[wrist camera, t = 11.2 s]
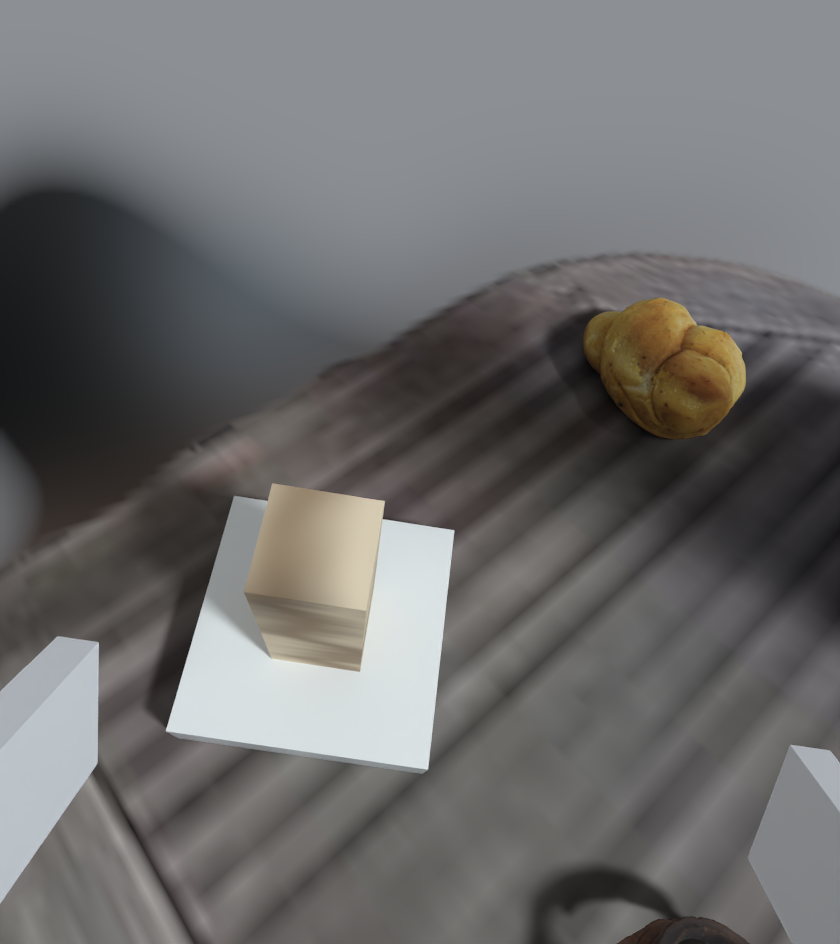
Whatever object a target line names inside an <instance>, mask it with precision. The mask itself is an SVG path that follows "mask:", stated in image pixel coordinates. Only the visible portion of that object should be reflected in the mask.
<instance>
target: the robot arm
mask: <svg viewBox="0 0 840 944" xmlns="http://www.w3.org/2000/svg"><path fill="white" fill-rule="evenodd" d="M98 662H99V642H94V641H87V640H80V639H73V638H67V637H60V636H57V637H56V638H55V639H54V640H53V641H52V642H51V643H50V644H49V645H48V646H47V647H46V648H45V649H44V650H43V651H42V652H41V653H40V654H39V655H38V656H36V657H35V658H34V659H33V660H32V661H31V662H30V663H29V664H28V665H27V666H26V667H25V668H24V669H23V670H22V671H21V672H20V673H19V674H18V675H17V676H16V677H15V678H14V679H12V680H11V681H10V682H9V683H8V684H7V685H6V686H5V687H4V688H3V689H2V690H1V691H0V903H1V902H2V900H3V899H4V897H5V896H6V894H7V893H8V892H9V890H10V889H11V887H12V886H13V884H14V883H15V881H16V880H17V879H18V877H19V876H20V874H21V873H22V871H23V870H24V868H25V867H26V866H27V864H28V863H29V861H30V860H31V858H32V857H33V856H34V854H35V853H36V851H37V850H38V848H39V847H40V845H41V844H42V843H43V841H44V840H45V838H46V837H47V835H48V834H49V832H50V831H51V830H52V828H53V827H54V825H55V824H56V822H57V821H58V820H59V818H60V817H61V815H62V814H63V812H64V811H65V809H66V808H67V807H68V805H69V804H70V802H71V801H72V799H73V798H74V796H75V795H76V794H77V792H78V791H79V789H80V788H81V786H82V785H83V784H84V782H85V781H86V779H87V778H88V776H89V775H90V773H91V772H92V771H93V769H94V768H95V766H96V765H97V752H98ZM748 860H749V862H750V864H751V866H752V867H753V869H754V871H755V873H756V875H757V877H758V879H759V881H760V883H761V885H762V887H763V889H764V891H765V892H766V894H767V896H768V898H769V900H770V902H771V904H772V906H773V908H774V910H775V912H776V914H777V915H778V917H779V919H780V921H781V923H782V925H783V927H784V929H785V931H786V933H787V935H788V937H789V938H790V940H791V942H792V944H840V763H839V761H838V760H837V759H836V758H835V756H834V755H833V754H832V753H831V751H829V750H822V749H816V748H809V747H802V746H795V745H790V746H789V749H788V752H787V754H786V757H785V760H784V762H783V765H782V768H781V770H780V773H779V776H778V778H777V781H776V784H775V786H774V789H773V792H772V794H771V797H770V800H769V802H768V805H767V808H766V810H765V813H764V816H763V818H762V821H761V824H760V826H759V829H758V832H757V834H756V837H755V840H754V842H753V845H752V848H751V850H750V853H749V856H748Z"/></svg>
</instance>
